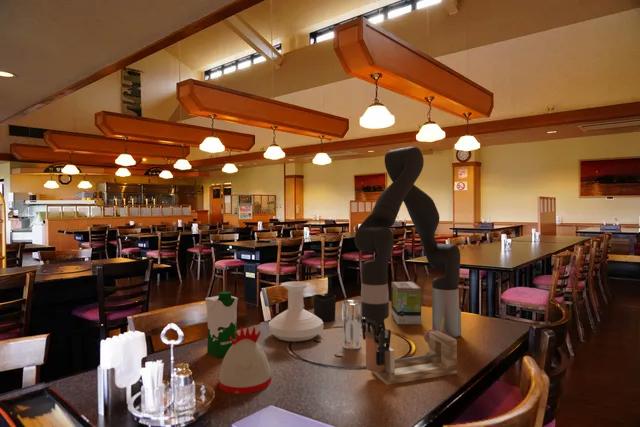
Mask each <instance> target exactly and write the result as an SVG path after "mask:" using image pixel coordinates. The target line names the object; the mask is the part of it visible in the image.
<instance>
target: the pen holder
mask: <svg viewBox="0 0 640 427" xmlns="http://www.w3.org/2000/svg"><path fill="white" fill-rule="evenodd" d="M336 299H337V296H336V295H335V294H329V295H323V294H314V295H313V298H312V300H313V301H312V302H313V314H314V315H316V316H317V317H318V318H320V319H321V320H322V321H323V324H324V323H326V322H327V323H332V322H335V320H336V310H337V309H336V305H337V304H336V302H337V300H336ZM327 323H326V324H327Z"/></svg>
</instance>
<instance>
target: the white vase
mask: <svg viewBox="0 0 640 427" xmlns="http://www.w3.org/2000/svg"><path fill="white" fill-rule="evenodd" d="M280 284H281V286H282V287H284V288H285V289H286V290H287V301H288V302H287V309H285V310H284V311H282V312H280V313H279V314H278V315H276V316H274V317H273V318H272V319H271V320H269V321H268V332H269V333H270V334H271V335H273V336H274V337H276V339H278V340H281V341H286V342H303V341H304V342H305V341H308V340H312V339H314V338H315V337H317V336H318V335H319V334H320V333H322V331H323V330H324V323H323V321H322V320H321V319H320V318H318V317H317V316H316V315H314V313H312V312H310V311H308V310H306V309H305V308H304V289H306V288H307V287H308V286H309V285H310V282H307V281H302V280H301V281H293V280H292V281H285V282H282V283H280Z"/></svg>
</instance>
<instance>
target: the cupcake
mask: <svg viewBox="0 0 640 427" xmlns="http://www.w3.org/2000/svg"><path fill="white" fill-rule="evenodd" d="M443 323H444V316H443V318H442V322H441V328H440V329H434V330H432V329H429V330H428V331H426V332H425V333H424V336H423V339H424V341H425V342H426V343H427V344H428V346H429V332H431V331H439V332H442V333H444V334H446V335H448V336H450V334H448V333H447V332H446V331H444V330H442V329H443ZM450 337H451V336H450Z"/></svg>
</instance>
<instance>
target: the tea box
mask: <svg viewBox="0 0 640 427" xmlns="http://www.w3.org/2000/svg"><path fill="white" fill-rule="evenodd" d="M390 311H391V312H390V313H391V316H392V317H393V319H394V321H395V323H396V325H421V324H422V288H421V286H419V284H417V283H415V282H414V281H391V310H390Z"/></svg>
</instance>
